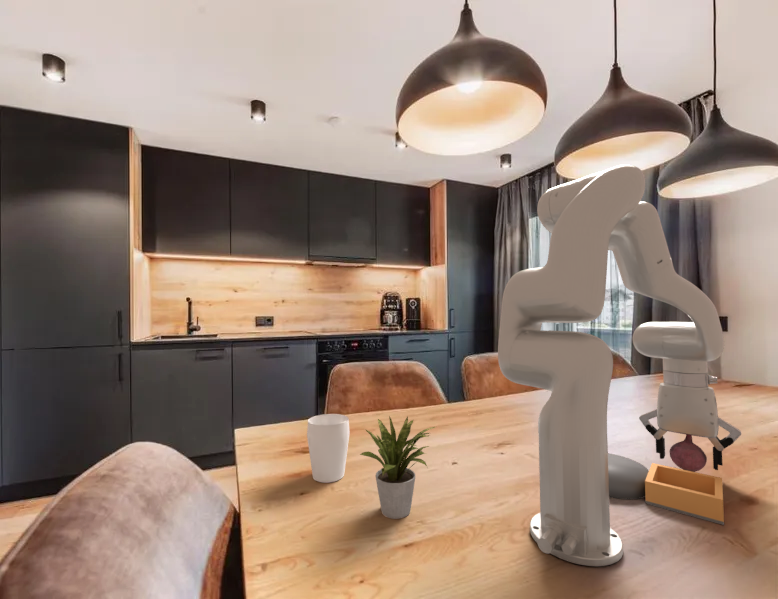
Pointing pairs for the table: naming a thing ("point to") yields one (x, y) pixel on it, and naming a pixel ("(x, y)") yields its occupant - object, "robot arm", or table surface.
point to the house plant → (396, 468)
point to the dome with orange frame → (667, 488)
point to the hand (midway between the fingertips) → (688, 461)
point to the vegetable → (688, 455)
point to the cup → (328, 446)
